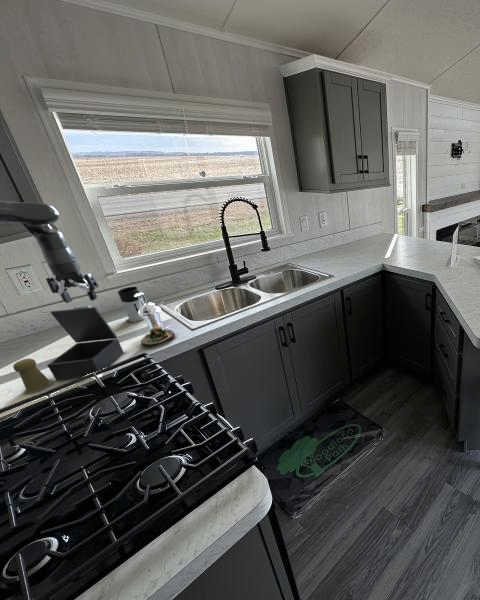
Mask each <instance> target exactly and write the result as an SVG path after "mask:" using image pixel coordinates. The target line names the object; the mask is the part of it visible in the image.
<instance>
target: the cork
mask: <svg viewBox="0 0 480 600" xmlns="http://www.w3.org/2000/svg"><path fill="white" fill-rule="evenodd" d="M13 370H14V371H15V372H16V373H19V376H20V378H21V380H22V383H23V385H24V388H25V391H26V392H27V393H34V392H35V393H36V392H39V391H40V390H44V389H45V388H47V387H49V385H51V381H50V380H49V379H48V378H47V376H46V375H44V373H43V372H42V371H41V370H40V369H39V368H38V366H37V362H36V360H35V359H34V358H24V359H20V360H18V361H16V362H15V363H13Z"/></svg>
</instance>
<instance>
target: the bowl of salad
mask: <svg viewBox="0 0 480 600" xmlns="http://www.w3.org/2000/svg"><path fill="white" fill-rule="evenodd" d="M170 338H172V339H173V340H174V339H175V338H176V336H175V332H174V331H173V330H171V329H164V330H163V329H162V327H160V326H156V325H155V327H153V328H152V329H151V330H150V329H149V334H147V333H146V335H144V337H143V338H142V339H141V341H140V344H141V345H142V346H143V345H148V346H149V345H156V344H160V343H163V342H165V341H167V340H169V339H170Z"/></svg>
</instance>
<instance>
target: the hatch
mask: <svg viewBox="0 0 480 600" xmlns="http://www.w3.org/2000/svg"><path fill="white" fill-rule="evenodd" d="M50 314H51V315H52V316H53V318H54V319H55V320H56V321H57V322H58V324H59V325H60V326H61V327H62V329H63V330H65V332H66V333H67V334H68V335H69V336H70V338H71V339H72V340H73V341H74V342H75V344H77V343H83V342H92V341H102V340H111V339H118V336H117V334H116V333H115V331H114V330H113V329H112V327H111V326H110V325H109V323H108V322H107V321H106V320H105V318H104V317H103V315H102V314H101V313H100V311H99V310H98V308H97V307H96V306H94V307H92V305H90V304H88V305H77V306H73V308H71V309H61V310H52V311H50Z"/></svg>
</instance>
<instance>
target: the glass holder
mask: <svg viewBox="0 0 480 600" xmlns="http://www.w3.org/2000/svg"><path fill="white" fill-rule="evenodd" d="M139 293H140V291H139V288H138V287H137V286H128V287H123V288H121V289H119V290H118V291H117V294H118V295H119V298H120V302H121V304H122V306H123V308H124V311H125V312H126V315H127V316H128V322H131V323H132V322H133V323H134V322H140V321H143V320H144V319H143V318H142V316H139V315H138V312H139V311H140V307H141V306H142V305H143V304H145V301H144V299H143V296H142V295H139V296H136V297H133V296H134V295H137V294H139ZM146 301H147V299H146ZM147 302H148V301H147Z"/></svg>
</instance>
